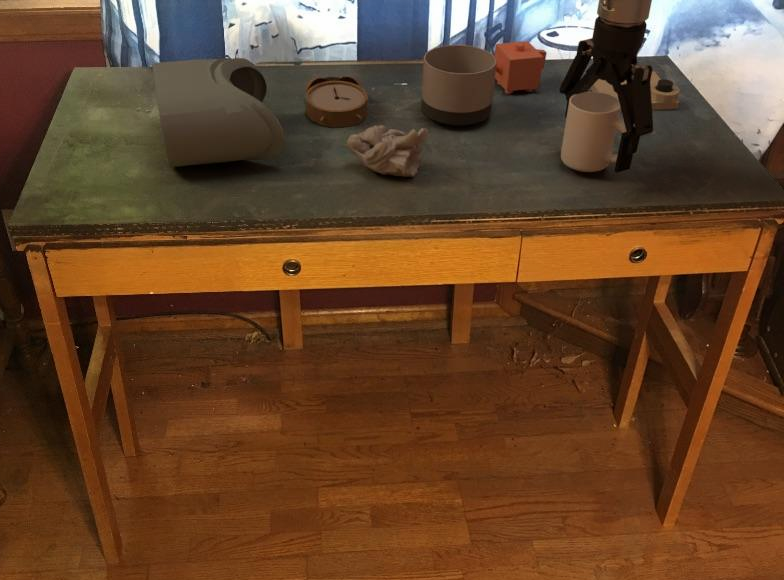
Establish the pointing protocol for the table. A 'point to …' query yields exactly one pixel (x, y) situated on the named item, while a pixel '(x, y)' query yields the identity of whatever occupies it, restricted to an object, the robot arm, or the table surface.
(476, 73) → the planter
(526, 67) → the orange footed box
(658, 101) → the scale
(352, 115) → the alarm clock
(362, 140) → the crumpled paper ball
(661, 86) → the button
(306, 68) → the table surface
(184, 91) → the grey curved shell
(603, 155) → the mug
